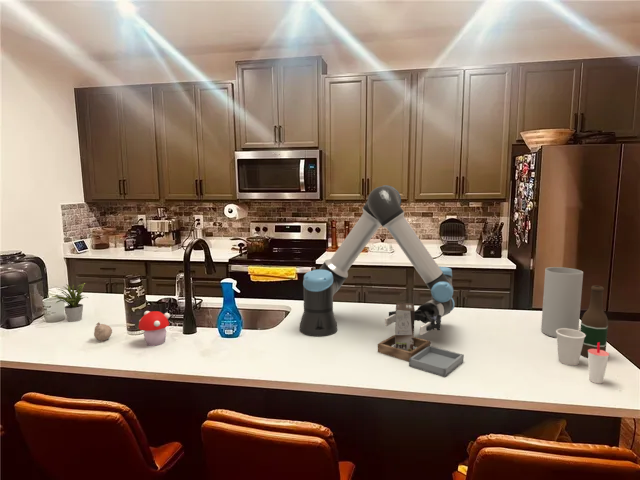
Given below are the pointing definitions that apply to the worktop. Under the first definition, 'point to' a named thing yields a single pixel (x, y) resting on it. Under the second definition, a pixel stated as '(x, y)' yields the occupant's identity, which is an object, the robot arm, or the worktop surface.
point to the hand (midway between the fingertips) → (402, 326)
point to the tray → (436, 360)
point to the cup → (597, 364)
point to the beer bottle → (594, 323)
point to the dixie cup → (569, 345)
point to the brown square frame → (386, 349)
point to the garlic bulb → (102, 332)
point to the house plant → (72, 303)
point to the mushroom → (154, 327)
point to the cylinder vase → (561, 299)
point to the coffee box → (404, 326)
